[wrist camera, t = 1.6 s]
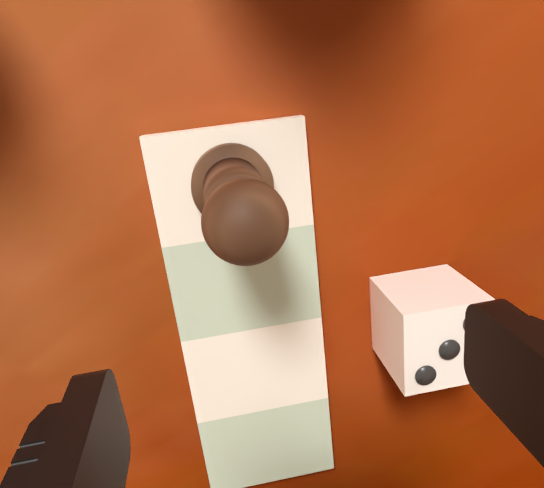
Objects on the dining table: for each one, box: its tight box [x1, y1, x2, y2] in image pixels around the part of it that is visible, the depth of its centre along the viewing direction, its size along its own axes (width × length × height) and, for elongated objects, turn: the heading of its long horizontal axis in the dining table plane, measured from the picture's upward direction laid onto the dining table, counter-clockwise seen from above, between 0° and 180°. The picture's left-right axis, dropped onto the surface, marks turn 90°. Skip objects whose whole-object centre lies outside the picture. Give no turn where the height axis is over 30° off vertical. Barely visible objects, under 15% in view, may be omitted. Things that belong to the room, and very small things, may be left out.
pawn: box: [191, 143, 289, 266], centre depth 25 cm, size 5×5×11 cm
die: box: [369, 264, 495, 397], centre depth 33 cm, size 6×6×6 cm
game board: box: [139, 115, 334, 488], centre depth 34 cm, size 10×28×1 cm, turn 6°
